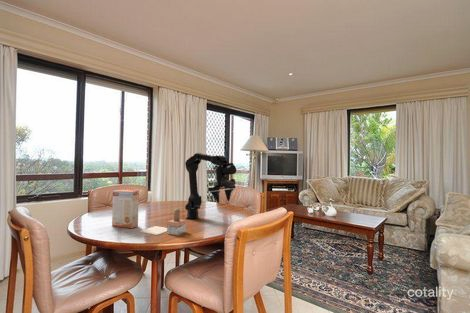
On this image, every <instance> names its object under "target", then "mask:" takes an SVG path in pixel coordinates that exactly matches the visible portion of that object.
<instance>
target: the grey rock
mask: <svg viewBox="0 0 470 313" xmlns="http://www.w3.org/2000/svg"><path fill="white" fill-rule="evenodd" d="M166 228H167V232H166V234H168V235H173V236H180V235H182V234H185V233H186V228H187V225H186V223H185V224H184V225H182V226H179V227H175V226H168V225H167V226H166Z"/></svg>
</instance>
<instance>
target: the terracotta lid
mask: <svg viewBox="0 0 470 313" xmlns="http://www.w3.org/2000/svg"><path fill="white" fill-rule="evenodd" d="M180 211H181V209H180V208H175V209H173V219H171V220H168V221H167V226H175V227H179V226H182V225H184V224H185V225H186V220H185V219H180V218H181V217H180V216H181V212H180Z"/></svg>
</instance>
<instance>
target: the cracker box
mask: <svg viewBox="0 0 470 313" xmlns="http://www.w3.org/2000/svg"><path fill="white" fill-rule="evenodd" d="M139 192H140V191H139V190H134V189H133V190H132V189H131V190H130V189H116V190H115V189H114V190H112V211H111V212H112V216H111V217H112V218H111V220H112V221H111V224H112V225H111V226H112V227H116V226H117V227H119V228H125V229H133V228H136V227H138V226H139V196H140V195H139Z"/></svg>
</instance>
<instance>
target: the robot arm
mask: <svg viewBox="0 0 470 313" xmlns="http://www.w3.org/2000/svg"><path fill="white" fill-rule="evenodd" d="M202 160H203V161H207V162H210V163H211V164H212V165H214V166H213V168H212V169H213V170H215V178H214V180H215V181H216V185H210V186H208V187H207V189H208V190H207V191H208V192H209V193H211V195H212V196H213V198H214V199H215V201H216V203H218V204H219V203H220V193H221V190H224V194H225V198H226V201H227V202H229V201H230V199H231V194H232V192H233V191H234V190H235V189H236V179H235V178H231V179H229V178H228V177H227V176H230V175H235V174H236V173H237V168H236V166H235V164H234V163H233V162H230V163H229V162H228V160H227V159H226V157H225V155H210V154H205V153H201V152H196V153H194V154H193V155H192V156H190V157H189V158H188V159H186V161H185V169H186V171H187V172H188V178H189V180H188V181H189V193H190V194H189V197H188V199H187V200H188V201H187V203H186V205H185V206H184V207H185V209H184V210H186V211H187V213H186V214H187V215H186V216H187V217H185V219H186V220H190V221H191V220H194V221H195V220H197V219H199V218H200V217H199V209H200V208H201V206H202V203H203V200H202V195H200V194H199V192H198V177H197V172H198V169H199V165H200V164H201V162H202Z"/></svg>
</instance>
